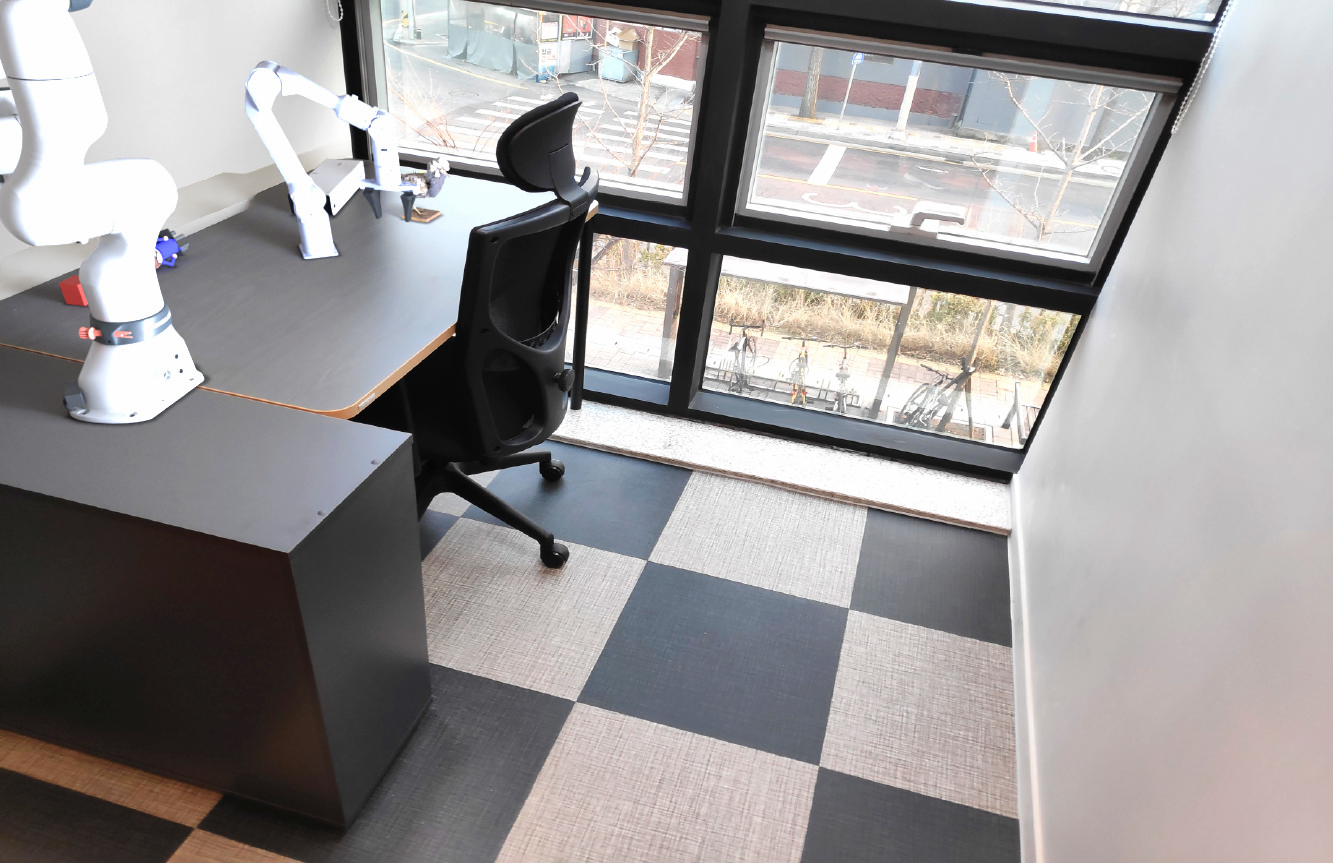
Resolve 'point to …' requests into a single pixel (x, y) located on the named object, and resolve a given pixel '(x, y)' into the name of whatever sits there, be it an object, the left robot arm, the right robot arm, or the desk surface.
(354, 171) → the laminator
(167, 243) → the character figurine
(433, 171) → the stuffed bird
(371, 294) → the desk surface
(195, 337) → the desk surface
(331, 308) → the desk surface
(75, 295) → the brick
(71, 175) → the left robot arm
